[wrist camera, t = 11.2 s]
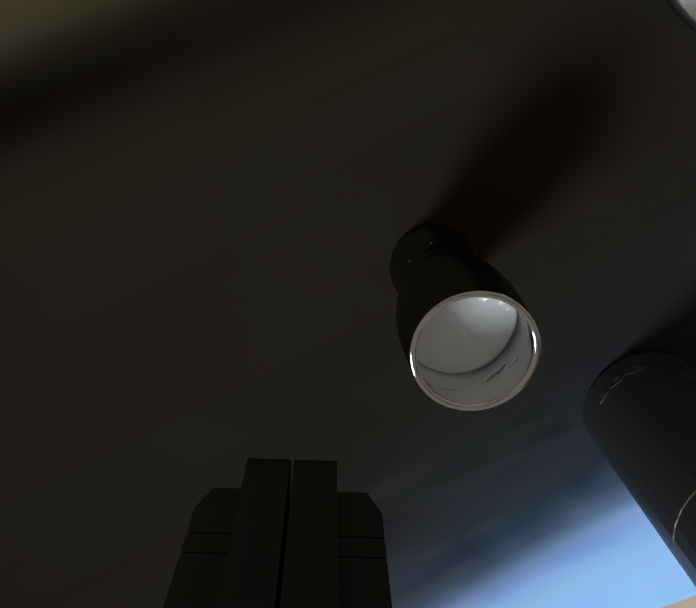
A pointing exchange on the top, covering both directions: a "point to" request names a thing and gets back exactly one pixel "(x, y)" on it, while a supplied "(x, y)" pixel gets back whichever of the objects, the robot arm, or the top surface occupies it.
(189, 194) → the top surface
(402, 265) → the beer glass
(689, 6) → the base
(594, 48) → the top surface
